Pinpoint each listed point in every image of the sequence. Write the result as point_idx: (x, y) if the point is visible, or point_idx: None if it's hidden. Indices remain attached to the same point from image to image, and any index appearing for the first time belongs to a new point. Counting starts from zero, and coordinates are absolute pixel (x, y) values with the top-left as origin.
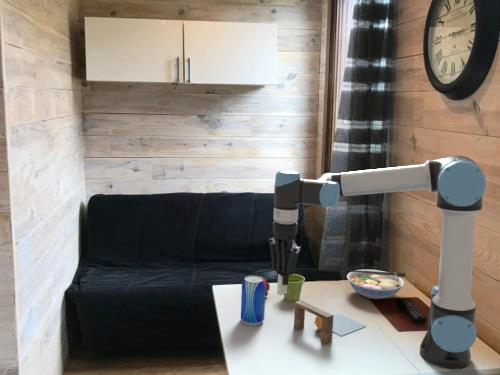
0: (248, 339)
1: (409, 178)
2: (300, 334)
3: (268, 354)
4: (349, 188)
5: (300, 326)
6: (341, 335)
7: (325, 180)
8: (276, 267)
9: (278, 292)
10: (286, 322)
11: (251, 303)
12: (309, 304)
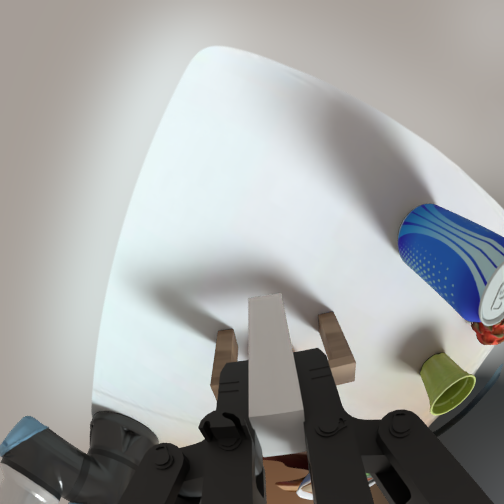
0: (343, 162)
1: None
2: (295, 309)
3: (235, 168)
4: None
5: (320, 326)
6: None
7: None
8: (357, 459)
9: (270, 302)
10: (367, 310)
11: (442, 235)
12: None
